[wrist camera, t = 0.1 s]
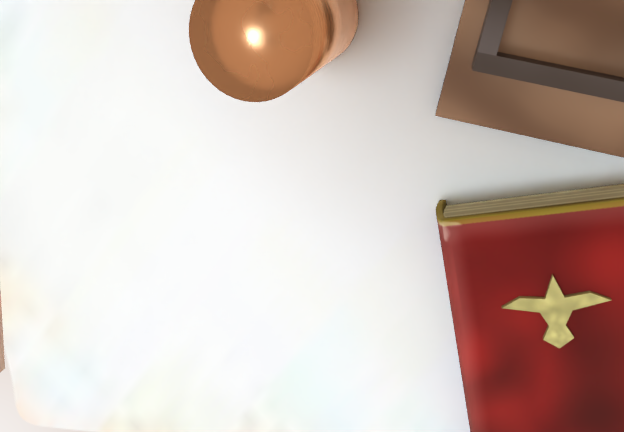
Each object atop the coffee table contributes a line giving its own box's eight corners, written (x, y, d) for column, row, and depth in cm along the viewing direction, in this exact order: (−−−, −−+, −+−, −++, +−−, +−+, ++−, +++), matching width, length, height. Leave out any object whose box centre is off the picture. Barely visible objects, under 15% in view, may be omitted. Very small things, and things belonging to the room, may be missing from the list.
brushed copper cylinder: (275, -41, 35) (194, -46, 24) (367, -24, 35) (324, -20, 24) (263, 53, 38) (184, 87, 27) (348, 71, 37) (302, 114, 26)
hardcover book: (476, 453, 46) (478, 497, 42) (437, 198, 39) (434, 223, 35) (650, 452, 42) (669, 500, 39) (641, 172, 36) (662, 197, 32)
